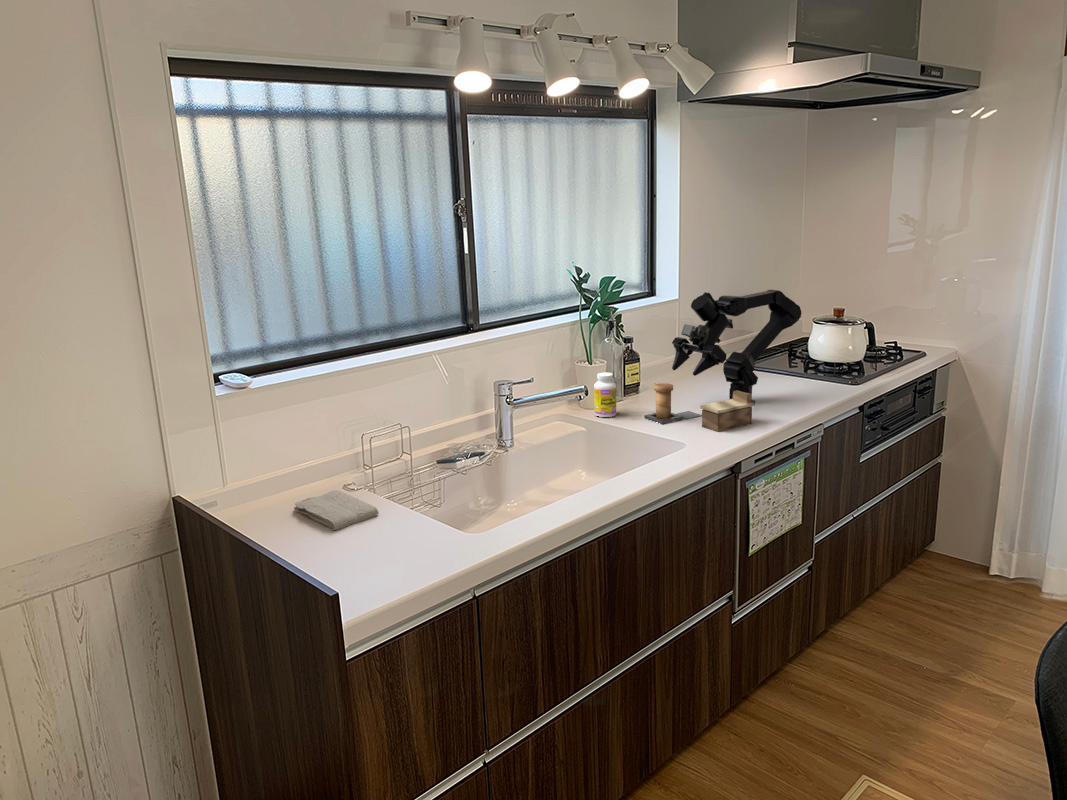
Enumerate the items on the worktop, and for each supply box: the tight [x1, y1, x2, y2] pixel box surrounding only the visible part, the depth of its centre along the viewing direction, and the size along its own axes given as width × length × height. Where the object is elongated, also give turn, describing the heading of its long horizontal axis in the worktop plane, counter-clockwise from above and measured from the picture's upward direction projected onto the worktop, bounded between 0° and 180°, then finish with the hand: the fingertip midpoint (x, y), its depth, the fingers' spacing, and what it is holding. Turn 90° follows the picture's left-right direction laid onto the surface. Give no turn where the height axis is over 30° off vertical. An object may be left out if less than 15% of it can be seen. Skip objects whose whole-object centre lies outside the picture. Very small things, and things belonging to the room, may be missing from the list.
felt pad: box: [676, 410, 702, 420], centre depth 248 cm, size 6×6×1 cm
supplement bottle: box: [593, 371, 617, 418], centre depth 250 cm, size 7×7×13 cm
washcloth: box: [293, 489, 379, 531], centre depth 183 cm, size 12×18×3 cm, turn 46°
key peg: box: [653, 382, 674, 419], centre depth 244 cm, size 6×6×10 cm
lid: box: [699, 390, 755, 414], centre depth 235 cm, size 14×7×3 cm, turn 121°
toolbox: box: [701, 406, 753, 433], centre depth 236 cm, size 13×6×5 cm, turn 121°
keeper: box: [643, 412, 684, 425], centre depth 245 cm, size 8×8×1 cm
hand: (683, 372), depth 246 cm, fingers open, 9 cm apart
